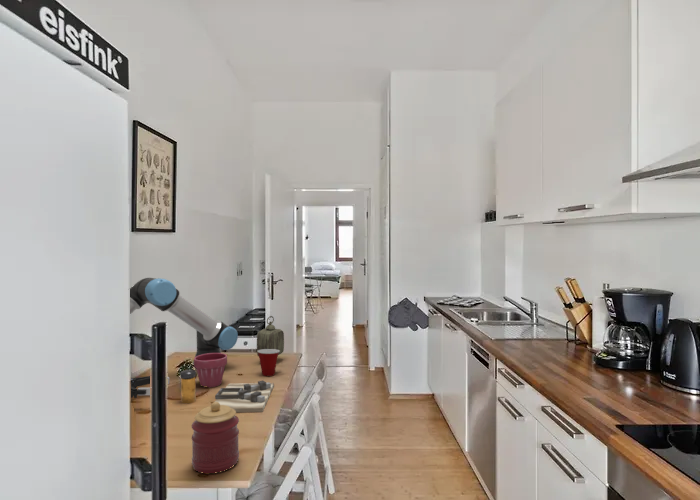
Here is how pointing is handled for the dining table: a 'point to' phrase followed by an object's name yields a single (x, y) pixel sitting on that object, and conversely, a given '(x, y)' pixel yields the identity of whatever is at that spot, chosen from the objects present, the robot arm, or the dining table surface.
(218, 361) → the plant pot
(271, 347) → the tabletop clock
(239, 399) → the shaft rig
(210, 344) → the robot arm
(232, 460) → the canister
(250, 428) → the dining table surface
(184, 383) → the orange translucent cylinder
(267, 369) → the plastic cup
